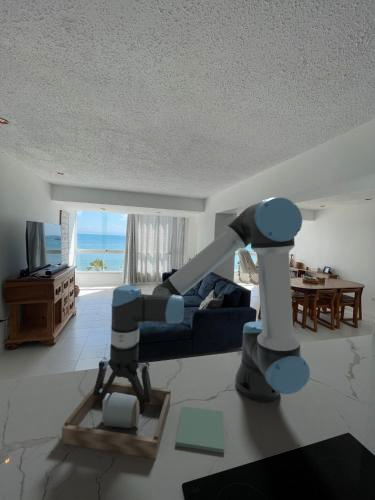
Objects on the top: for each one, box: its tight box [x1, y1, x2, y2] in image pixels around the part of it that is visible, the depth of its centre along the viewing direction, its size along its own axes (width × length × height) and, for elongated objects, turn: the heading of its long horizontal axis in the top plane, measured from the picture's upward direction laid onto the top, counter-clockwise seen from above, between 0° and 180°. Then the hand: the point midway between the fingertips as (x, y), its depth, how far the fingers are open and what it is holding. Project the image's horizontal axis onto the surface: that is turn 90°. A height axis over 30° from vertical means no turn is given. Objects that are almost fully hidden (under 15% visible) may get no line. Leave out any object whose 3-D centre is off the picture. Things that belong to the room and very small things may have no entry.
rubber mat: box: [175, 405, 225, 454], centre depth 60 cm, size 12×12×1 cm
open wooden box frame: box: [61, 380, 172, 459], centre depth 61 cm, size 24×17×5 cm
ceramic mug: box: [103, 392, 138, 429], centre depth 62 cm, size 11×8×8 cm
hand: (121, 421), depth 61 cm, fingers open, 9 cm apart
